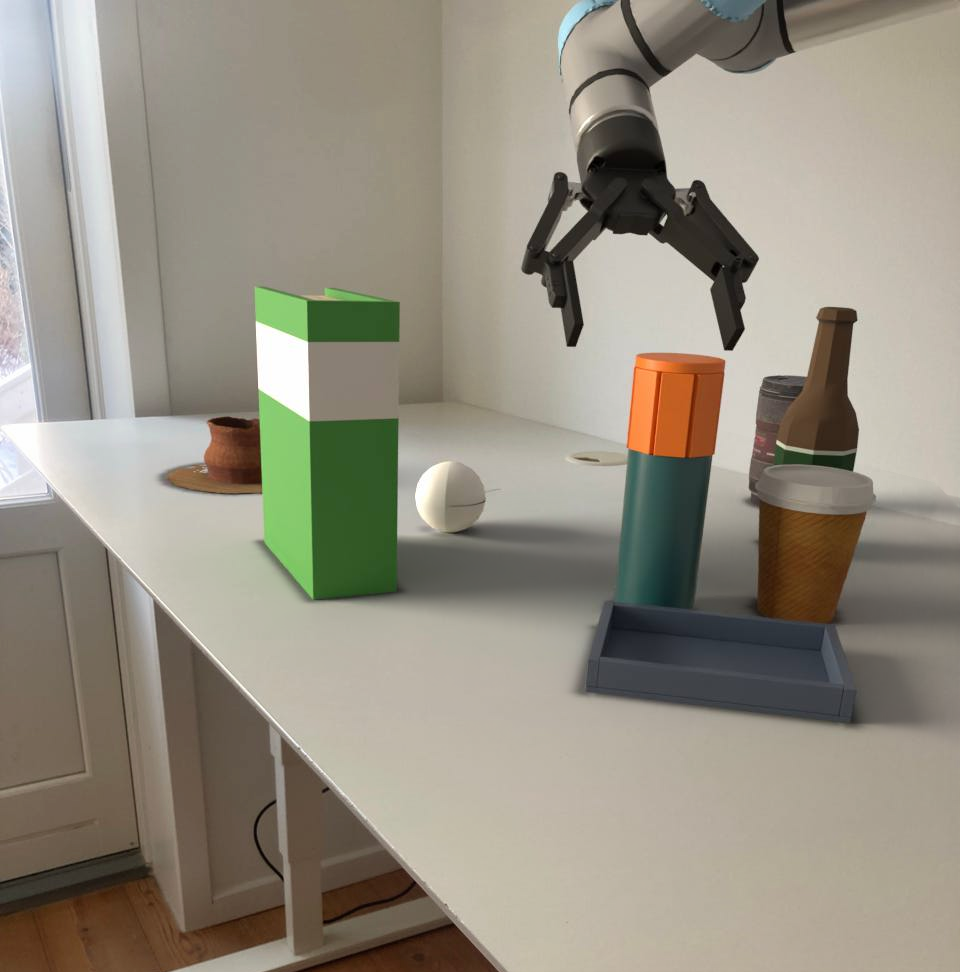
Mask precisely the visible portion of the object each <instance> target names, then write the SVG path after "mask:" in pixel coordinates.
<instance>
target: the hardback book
mask: <svg viewBox="0 0 960 972" xmlns="http://www.w3.org/2000/svg"><path fill="white" fill-rule="evenodd" d="M254 307H255V311H254V312H255V333H256V334H255V335H256V337H255V338H256V360H257V362H256V363H257V383H258V384H257V386H258V410H259V411H258V415H259V419H260V441H261V467H262V492H263V493H262V516H263V518H262V519H263V535H264V536H263V541H264V544H265V545H266V547H268V549H269V550H270V552H272V554H274V556H275V557H276V558H277V559H278V561H280V563H281V564H282V565H283V566H284V568H285V569H286V570H287V571H288V573H290V575H291V576H292V577H293V578H294V579H295V581H296V582H297V583H298V584H299V586H301V587H302V589H303V590H304V591H305V592H306V594H308V596H309V597H310V598H311V599H312V600H313V601H315V600H324V599H335V598H345V597H353V596H363V595H364V596H365V595H372V594H383V593H391V592H398V575H397V574H398V513H399V512H398V509H399V506H398V504H399V503H398V500H399V498H398V497H399V418H400V417H399V416H400V415H399V412H400V411H399V410H400V408H399V407H400V321H401V320H400V314H401V309H400V308H401V302H400V301H397V300H393V299H387V298H383V297H378V296H373V295H369V294H364V293H359V292H355V291H350V290H346V289H341V288H336V287H324V295H309V294H308V295H307V294H306V295H305V294H304V295H303V294H301V295H299V294H295V293H291V292H286V291H284V290H279V289H275V288H271V287H268V286H254Z"/></svg>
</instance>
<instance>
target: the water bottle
mask: <svg viewBox="0 0 960 972" xmlns="http://www.w3.org/2000/svg"><path fill="white" fill-rule="evenodd" d="M627 451H628V452H627V460H626V461H627V462H626V471H625V482H624V491H623V492H624V494H623V505H622V513H621V523H620V525H621V526H620V535H619V545H618V556H617V567H616V568H617V569H616V576H615V577H616V578H615V588H614V598H613V601H614V602H623V603H633V604H642V605H652V606H662V607H671V608H681V609H690V610H695V601H696V593H697V592H696V591H697V584H698V575H699V569H700V561H701V552H702V543H703V535H704V528H705V520H706V512H707V503H708V497H709V496H708V495H709V488H710V479H711V472H712V463H713V456H714V455H712V456H703V457H694V458H688V457H685V458H680V457H667V456H654V454H645V453H641V452H638V451H634V450H631V449H629V448H627Z"/></svg>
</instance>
